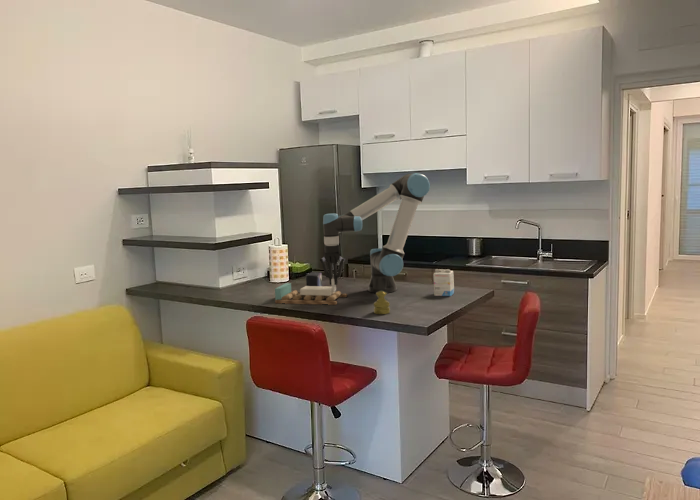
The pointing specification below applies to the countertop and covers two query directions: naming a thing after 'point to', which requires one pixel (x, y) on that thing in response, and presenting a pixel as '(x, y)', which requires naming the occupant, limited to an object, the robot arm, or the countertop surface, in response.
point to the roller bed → (309, 298)
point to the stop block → (282, 290)
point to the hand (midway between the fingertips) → (334, 291)
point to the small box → (314, 279)
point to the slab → (317, 290)
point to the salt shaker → (381, 304)
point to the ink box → (443, 282)
